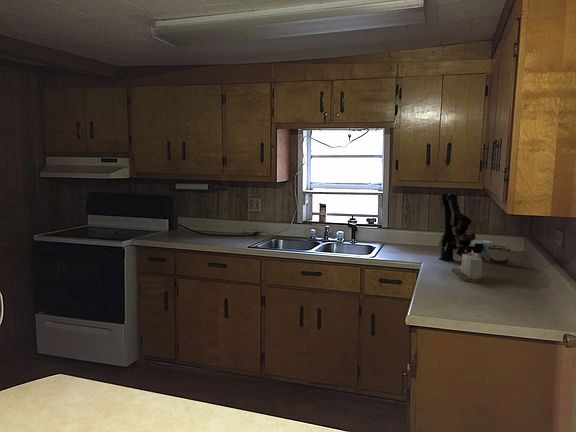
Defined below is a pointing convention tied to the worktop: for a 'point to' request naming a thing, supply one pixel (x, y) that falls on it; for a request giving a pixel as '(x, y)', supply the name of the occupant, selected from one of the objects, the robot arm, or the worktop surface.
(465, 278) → the rail board
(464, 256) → the block
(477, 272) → the block
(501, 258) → the food container
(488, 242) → the light bulb box
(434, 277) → the worktop surface
